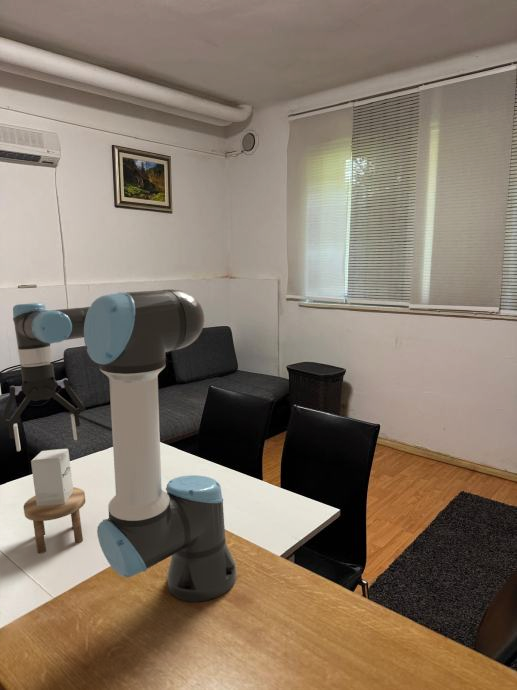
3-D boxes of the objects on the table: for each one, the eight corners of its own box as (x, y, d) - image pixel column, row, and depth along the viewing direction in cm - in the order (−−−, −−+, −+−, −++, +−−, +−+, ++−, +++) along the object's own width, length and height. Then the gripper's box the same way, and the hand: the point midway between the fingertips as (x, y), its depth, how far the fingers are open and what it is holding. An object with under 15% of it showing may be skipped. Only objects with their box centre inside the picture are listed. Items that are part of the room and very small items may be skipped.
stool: (92, 543, 124) (87, 503, 123) (28, 560, 118) (22, 519, 117) (86, 518, 138) (82, 482, 136) (29, 533, 132) (24, 495, 130)
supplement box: (65, 504, 123) (59, 457, 121) (36, 507, 123) (29, 460, 121) (74, 492, 130) (69, 447, 129) (47, 494, 130) (41, 450, 128)
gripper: (86, 355, 130) (96, 431, 133) (-18, 369, 120) (-6, 450, 123) (89, 359, 123) (99, 438, 126) (-21, 373, 113) (-8, 459, 116)
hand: (47, 444), depth 124 cm, fingers open, 13 cm apart
